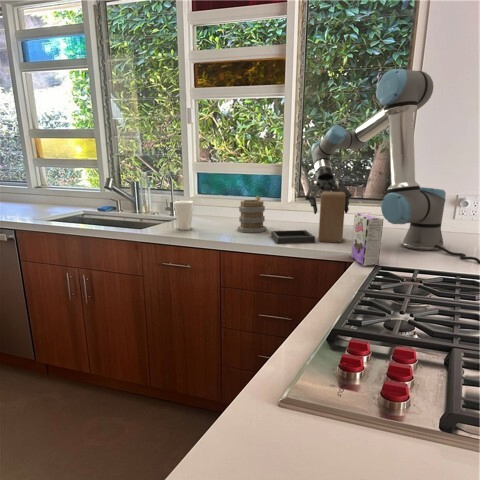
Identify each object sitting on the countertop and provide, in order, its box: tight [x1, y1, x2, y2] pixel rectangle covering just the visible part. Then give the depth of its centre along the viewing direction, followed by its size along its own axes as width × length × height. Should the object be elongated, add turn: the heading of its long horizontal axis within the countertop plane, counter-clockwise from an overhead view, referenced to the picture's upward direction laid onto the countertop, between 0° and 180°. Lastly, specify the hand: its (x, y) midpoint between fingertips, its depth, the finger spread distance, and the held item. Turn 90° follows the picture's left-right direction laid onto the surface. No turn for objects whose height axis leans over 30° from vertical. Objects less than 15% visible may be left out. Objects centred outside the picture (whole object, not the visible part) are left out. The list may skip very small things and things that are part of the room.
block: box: [318, 191, 346, 243], centre depth 197 cm, size 10×10×20 cm
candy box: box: [350, 211, 385, 267], centre depth 162 cm, size 14×6×16 cm, turn 4°
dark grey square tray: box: [270, 229, 316, 245], centre depth 203 cm, size 16×16×2 cm
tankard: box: [237, 195, 267, 234], centre depth 225 cm, size 20×13×15 cm, turn 161°
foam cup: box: [173, 200, 194, 231], centre depth 228 cm, size 10×9×13 cm
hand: (331, 211), depth 198 cm, fingers open, 13 cm apart
